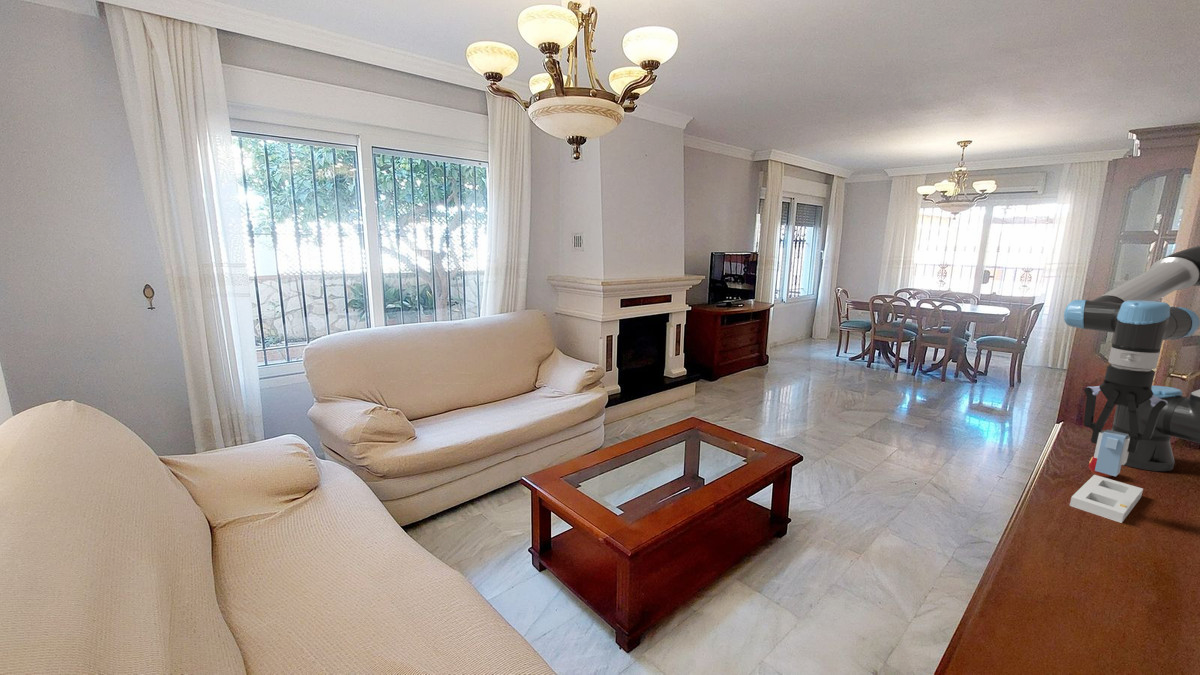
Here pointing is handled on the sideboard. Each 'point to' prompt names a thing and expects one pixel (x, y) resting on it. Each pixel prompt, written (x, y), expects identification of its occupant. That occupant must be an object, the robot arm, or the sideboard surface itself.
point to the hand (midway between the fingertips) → (1109, 459)
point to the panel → (1106, 498)
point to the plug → (1110, 452)
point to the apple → (1092, 467)
